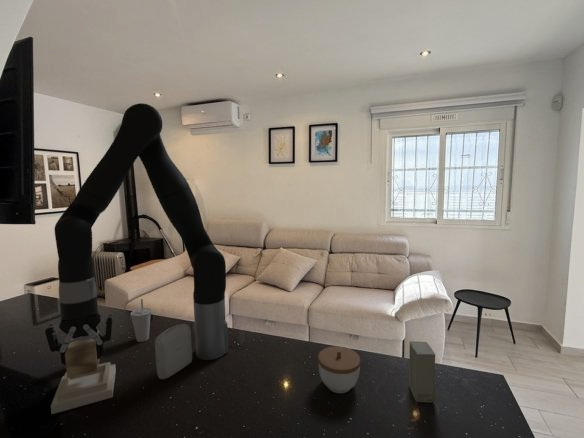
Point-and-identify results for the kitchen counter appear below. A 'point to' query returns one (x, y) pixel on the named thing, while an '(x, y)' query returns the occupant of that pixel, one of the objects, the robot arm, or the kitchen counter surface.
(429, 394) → the skincare box
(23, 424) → the kitchen counter surface
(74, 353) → the oak block
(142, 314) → the smoothie
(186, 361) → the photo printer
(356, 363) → the lidded jar
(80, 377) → the cream base
